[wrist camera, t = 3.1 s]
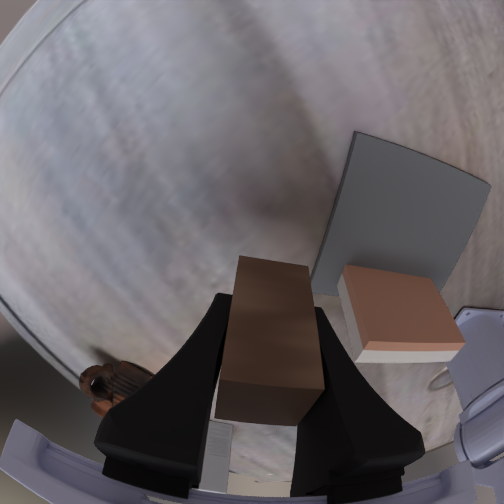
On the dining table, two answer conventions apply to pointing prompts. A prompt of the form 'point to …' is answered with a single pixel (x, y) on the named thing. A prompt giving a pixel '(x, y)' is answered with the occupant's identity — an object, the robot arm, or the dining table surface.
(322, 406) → the robot arm
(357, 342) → the whetstone
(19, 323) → the dining table surface
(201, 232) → the dining table surface
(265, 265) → the walnut block
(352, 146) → the mat
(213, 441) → the skincare box
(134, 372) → the pottery mug
